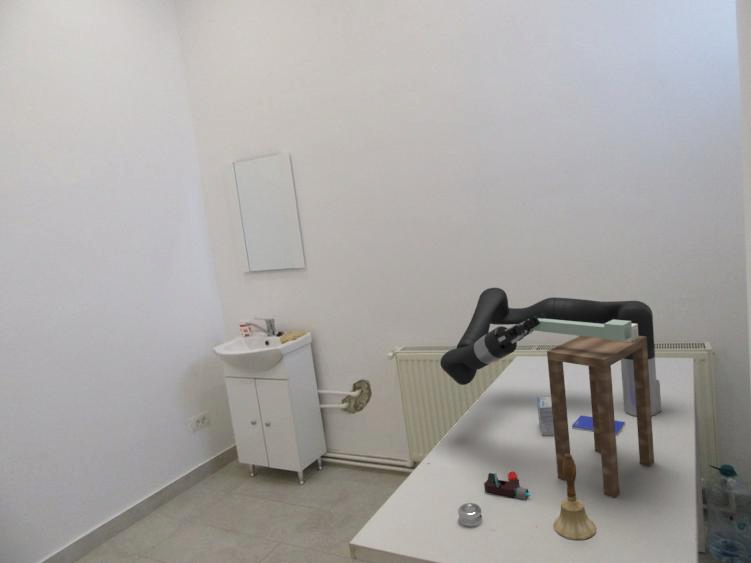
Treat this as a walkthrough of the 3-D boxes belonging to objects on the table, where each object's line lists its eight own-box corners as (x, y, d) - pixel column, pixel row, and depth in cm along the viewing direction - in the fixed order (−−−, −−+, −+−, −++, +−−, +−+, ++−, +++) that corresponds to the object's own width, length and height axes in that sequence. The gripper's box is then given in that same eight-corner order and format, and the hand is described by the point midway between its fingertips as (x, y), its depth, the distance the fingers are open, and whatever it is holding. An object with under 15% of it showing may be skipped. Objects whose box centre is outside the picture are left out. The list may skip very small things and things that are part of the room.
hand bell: (545, 521, 112) (539, 451, 110) (580, 512, 114) (574, 442, 112) (568, 544, 104) (562, 469, 102) (605, 533, 106) (599, 459, 104)
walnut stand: (558, 478, 128) (546, 351, 124) (599, 447, 141) (590, 330, 136) (614, 498, 117) (604, 359, 113) (654, 462, 130) (646, 336, 125)
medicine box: (558, 435, 150) (555, 406, 149) (541, 436, 151) (539, 407, 150) (554, 423, 158) (552, 396, 157) (539, 424, 159) (536, 397, 158)
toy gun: (530, 504, 120) (528, 484, 119) (480, 494, 126) (477, 475, 126) (541, 482, 128) (539, 464, 127) (493, 475, 134) (491, 457, 134)
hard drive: (571, 425, 153) (617, 432, 146) (580, 414, 160) (625, 421, 152) (572, 430, 154) (617, 437, 146) (581, 419, 160) (625, 426, 152)
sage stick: (526, 330, 130) (525, 316, 129) (535, 326, 132) (534, 313, 132) (623, 341, 111) (622, 325, 111) (632, 336, 114) (631, 321, 113)
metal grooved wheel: (484, 525, 114) (479, 512, 119) (483, 513, 113) (477, 500, 118) (461, 529, 114) (457, 515, 119) (460, 516, 113) (455, 503, 118)
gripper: (517, 351, 144) (564, 325, 132) (484, 365, 136) (532, 339, 123) (504, 326, 146) (549, 299, 134) (471, 339, 138) (516, 311, 125)
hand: (540, 318), depth 128 cm, fingers closed on sage stick, 2 cm apart
